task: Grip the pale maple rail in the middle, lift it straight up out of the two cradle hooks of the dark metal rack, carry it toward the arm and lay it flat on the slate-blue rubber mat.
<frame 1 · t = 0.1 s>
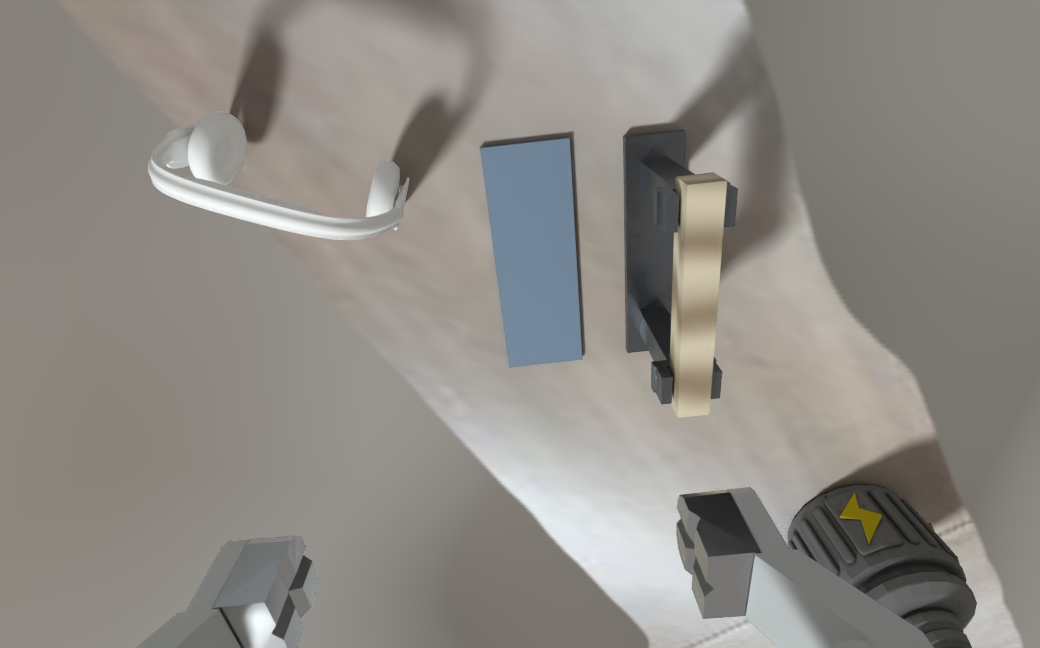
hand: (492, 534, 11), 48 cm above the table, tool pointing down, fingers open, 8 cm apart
hook rack: (651, 249, 59), on the table
mat: (536, 262, 60), on the table
headset: (320, 165, 54), on the table
rail: (688, 297, 48), point 13 cm above the table, touching hook rack
decorative lamp: (842, 524, 81), on the table
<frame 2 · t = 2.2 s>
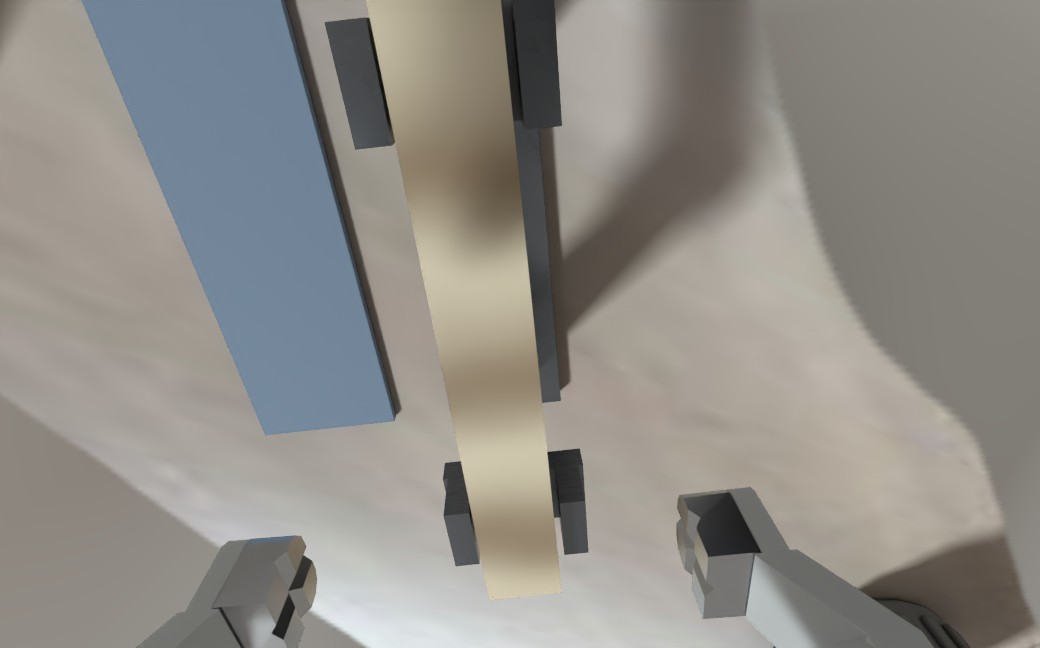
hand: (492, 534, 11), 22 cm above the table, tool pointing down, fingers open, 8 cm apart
hook rack: (493, 222, 31), on the table
mat: (272, 247, 31), on the table
rail: (491, 328, 19), point 13 cm above the table, touching hook rack
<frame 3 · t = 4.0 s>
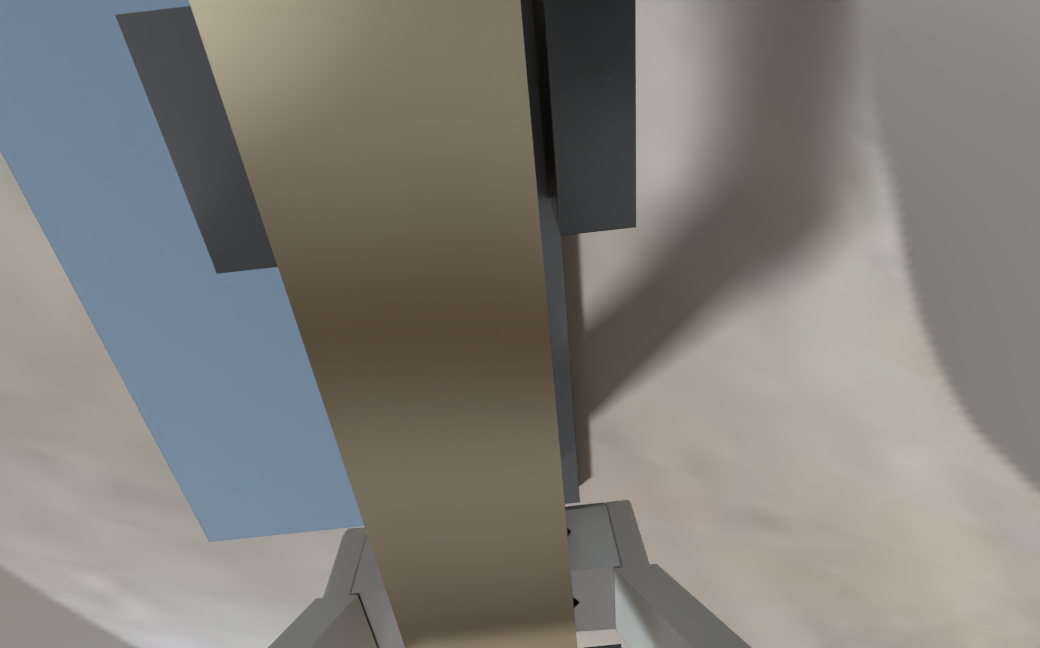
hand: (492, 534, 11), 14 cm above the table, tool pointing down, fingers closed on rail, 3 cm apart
hook rack: (495, 287, 24), on the table
mat: (206, 318, 24), on the table
rail: (492, 513, 12), point 13 cm above the table, touching gripper, hook rack
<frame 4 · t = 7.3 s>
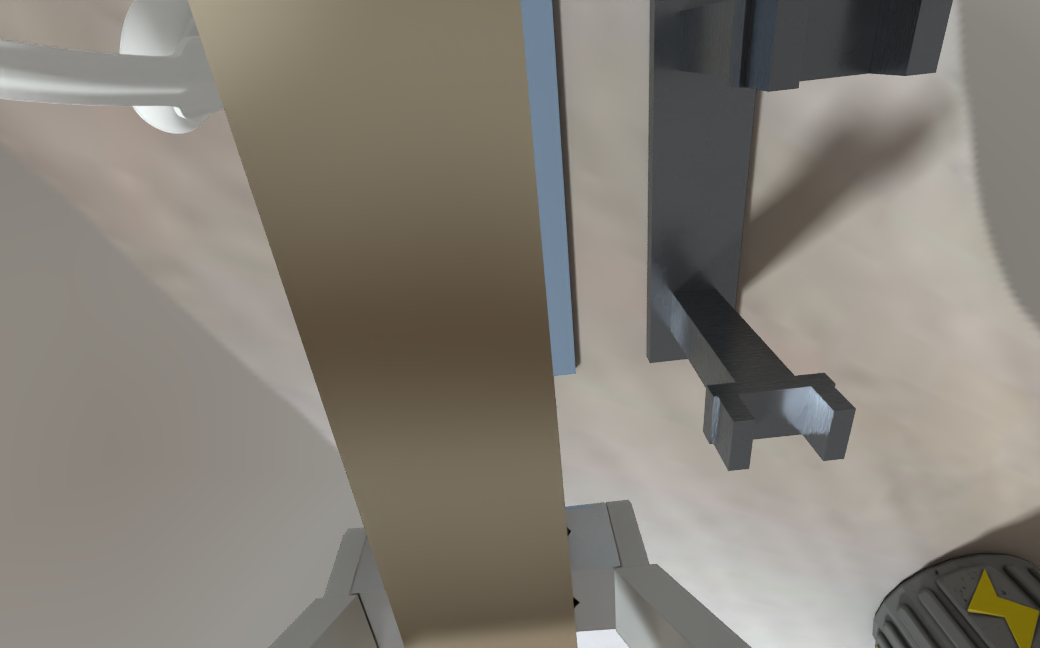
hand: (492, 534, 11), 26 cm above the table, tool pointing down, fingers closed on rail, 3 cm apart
hook rack: (694, 186, 34), on the table
mat: (495, 208, 35), on the table
headset: (85, 18, 29), on the table
rail: (493, 515, 12), point 25 cm above the table, touching gripper
decorative lamp: (952, 605, 56), on the table
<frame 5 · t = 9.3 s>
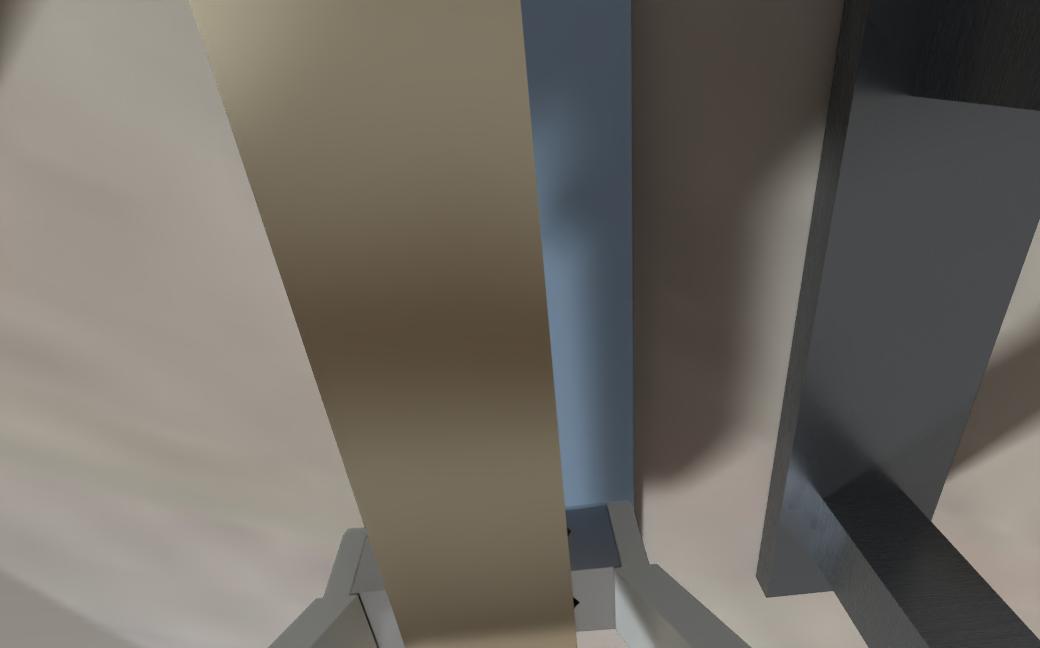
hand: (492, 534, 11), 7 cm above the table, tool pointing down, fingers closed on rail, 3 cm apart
hook rack: (885, 317, 17), on the table
mat: (494, 360, 18), on the table
rail: (493, 516, 12), point 6 cm above the table, touching gripper
when the fingers open (3 cm above the table, at t = 10.8 s): rail drops 1 cm, resting on mat.
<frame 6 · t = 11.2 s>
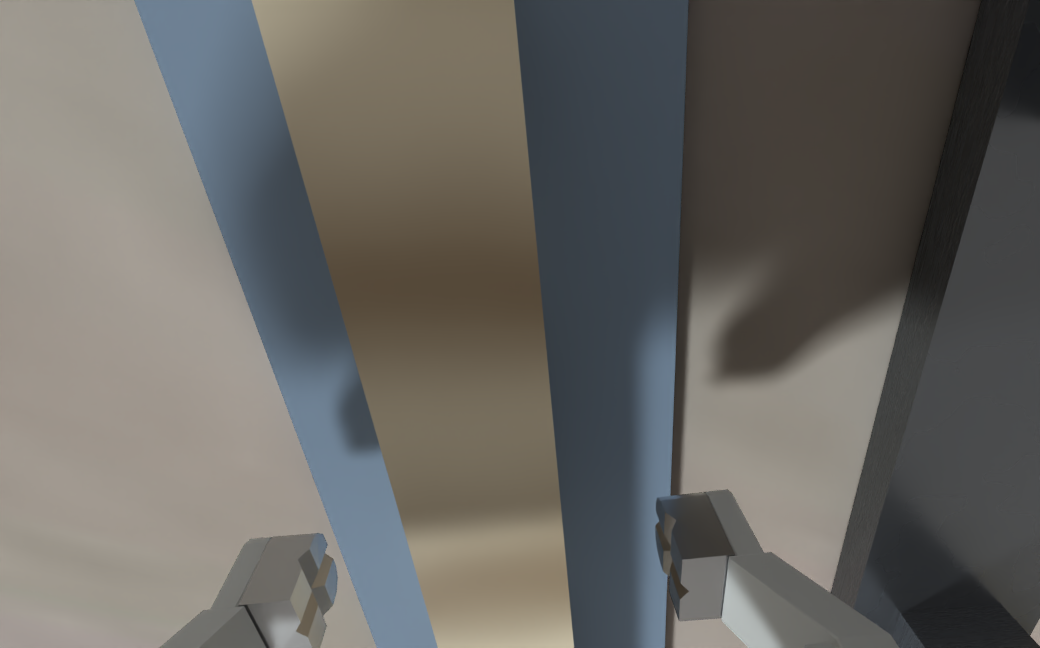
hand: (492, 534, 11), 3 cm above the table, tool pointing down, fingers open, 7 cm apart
hook rack: (993, 399, 14), on the table
mat: (493, 452, 14), on the table
rail: (493, 468, 13), point 1 cm above the table, touching mat
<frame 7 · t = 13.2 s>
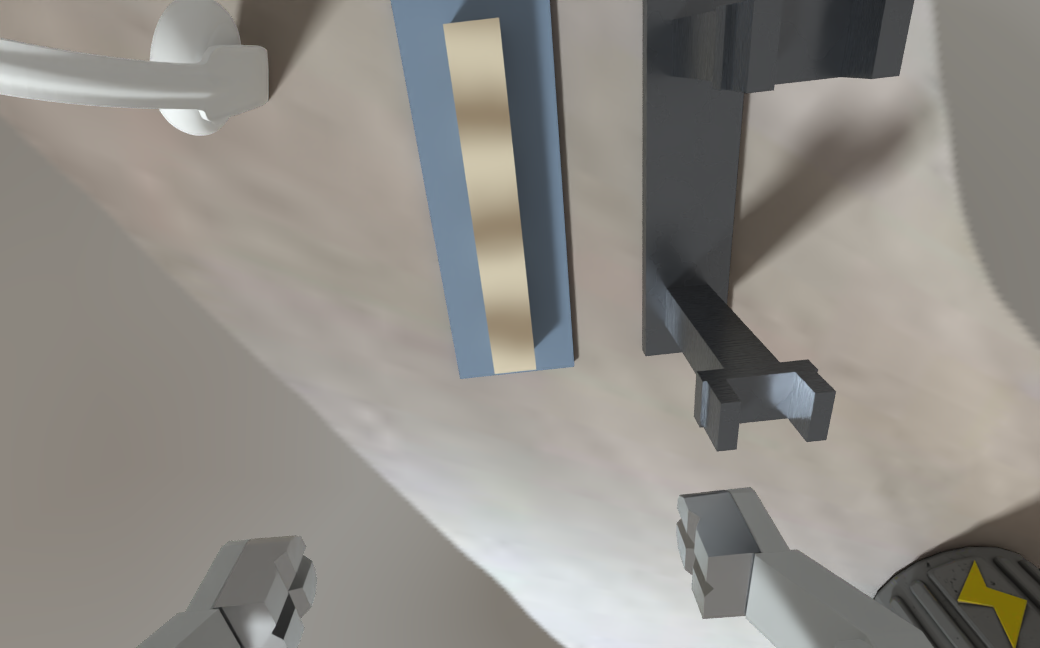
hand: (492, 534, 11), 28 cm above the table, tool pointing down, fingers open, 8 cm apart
hook rack: (686, 186, 36), on the table
mat: (496, 207, 36), on the table
headset: (112, 28, 31), on the table
rail: (496, 210, 36), point 1 cm above the table, touching mat
decorative lamp: (944, 598, 58), on the table
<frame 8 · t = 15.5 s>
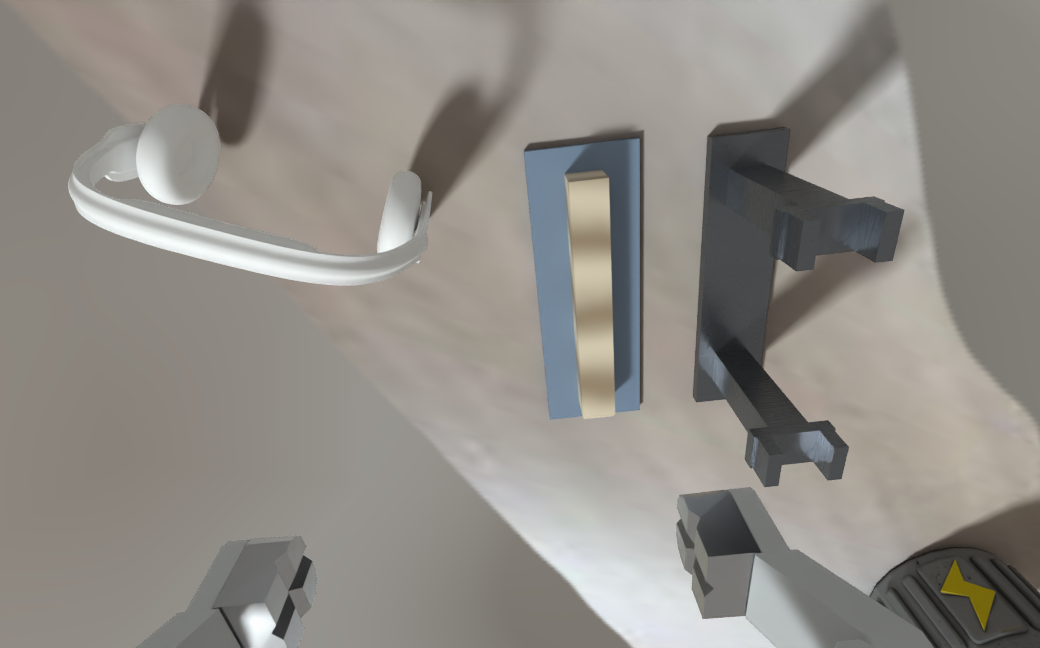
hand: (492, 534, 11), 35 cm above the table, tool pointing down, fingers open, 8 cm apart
hook rack: (732, 278, 47), on the table
mat: (588, 294, 48), on the table
headset: (317, 174, 42), on the table
rail: (589, 297, 47), point 1 cm above the table, touching mat
decorative lamp: (931, 590, 69), on the table
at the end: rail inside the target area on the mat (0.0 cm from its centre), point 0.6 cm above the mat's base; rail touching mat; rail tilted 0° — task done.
